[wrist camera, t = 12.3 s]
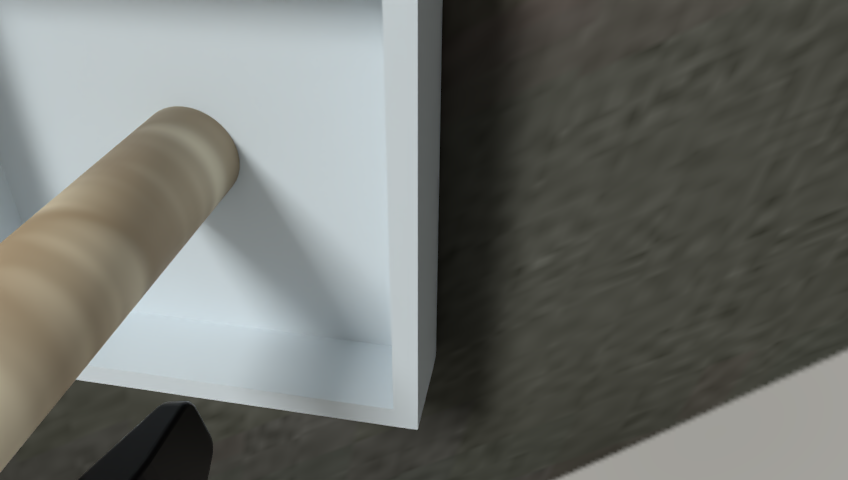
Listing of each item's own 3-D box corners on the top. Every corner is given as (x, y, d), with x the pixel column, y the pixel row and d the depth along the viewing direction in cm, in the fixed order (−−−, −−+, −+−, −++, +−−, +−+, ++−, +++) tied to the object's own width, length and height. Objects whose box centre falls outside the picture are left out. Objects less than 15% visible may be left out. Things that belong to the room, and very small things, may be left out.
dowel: (232, 111, 22) (-54, 402, 12) (245, 203, 24) (5, 522, 14) (133, 102, 22) (-221, 375, 13) (152, 193, 24) (-144, 495, 14)
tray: (444, -113, 18) (417, -83, 15) (435, 356, 27) (417, 429, 24) (-115, -133, 20) (-229, -112, 18) (47, 304, 29) (-12, 366, 26)
